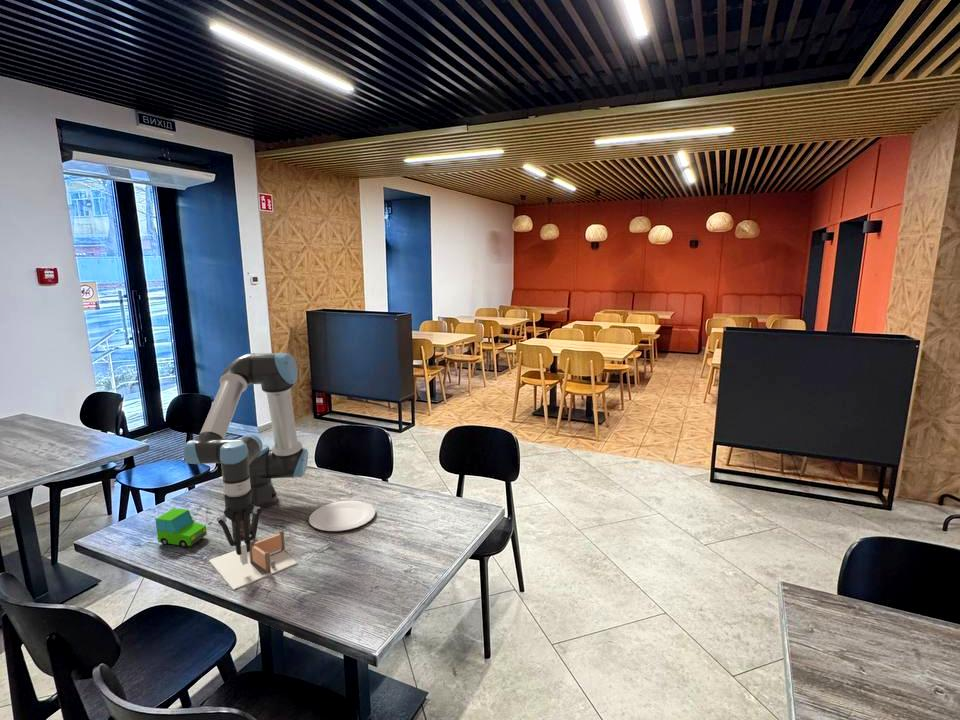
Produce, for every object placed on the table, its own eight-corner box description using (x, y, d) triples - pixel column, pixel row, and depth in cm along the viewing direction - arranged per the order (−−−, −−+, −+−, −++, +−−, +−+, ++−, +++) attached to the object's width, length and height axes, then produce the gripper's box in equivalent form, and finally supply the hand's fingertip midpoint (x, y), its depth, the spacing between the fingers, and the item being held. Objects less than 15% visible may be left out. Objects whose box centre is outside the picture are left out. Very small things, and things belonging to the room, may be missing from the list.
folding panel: (252, 563, 166) (250, 544, 165) (256, 561, 168) (255, 542, 166) (267, 573, 160) (266, 554, 159) (271, 571, 162) (270, 552, 160)
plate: (294, 527, 192) (294, 523, 191) (336, 499, 215) (336, 496, 214) (350, 540, 182) (349, 535, 182) (387, 510, 205) (387, 506, 205)
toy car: (189, 551, 175) (186, 523, 173) (156, 546, 178) (153, 520, 176) (210, 536, 185) (207, 510, 183) (179, 532, 188) (176, 506, 186)
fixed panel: (283, 548, 176) (282, 529, 175) (285, 549, 175) (284, 530, 174) (249, 561, 168) (247, 541, 167) (251, 563, 167) (249, 543, 166)
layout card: (269, 539, 183) (268, 532, 182) (297, 563, 167) (296, 557, 167) (208, 561, 169) (208, 554, 168) (233, 590, 153) (232, 583, 153)
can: (233, 542, 180) (230, 505, 178) (232, 534, 186) (229, 498, 184) (252, 538, 183) (249, 501, 181) (250, 530, 189) (247, 494, 186)
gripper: (217, 502, 150) (224, 575, 154) (263, 490, 158) (269, 559, 162) (211, 494, 155) (218, 564, 160) (256, 482, 164) (261, 550, 168)
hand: (244, 562), depth 161 cm, fingers closed
